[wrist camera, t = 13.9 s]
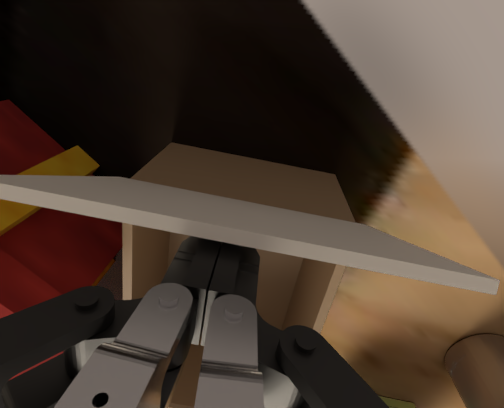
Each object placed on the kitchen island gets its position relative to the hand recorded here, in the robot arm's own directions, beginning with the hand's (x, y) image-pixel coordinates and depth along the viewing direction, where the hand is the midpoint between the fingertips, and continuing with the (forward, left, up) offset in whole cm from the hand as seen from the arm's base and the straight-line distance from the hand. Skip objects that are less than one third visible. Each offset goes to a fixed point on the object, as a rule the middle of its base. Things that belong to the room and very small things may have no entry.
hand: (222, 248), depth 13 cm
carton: (0, +17, -23) cm, 28 cm away
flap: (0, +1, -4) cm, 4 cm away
